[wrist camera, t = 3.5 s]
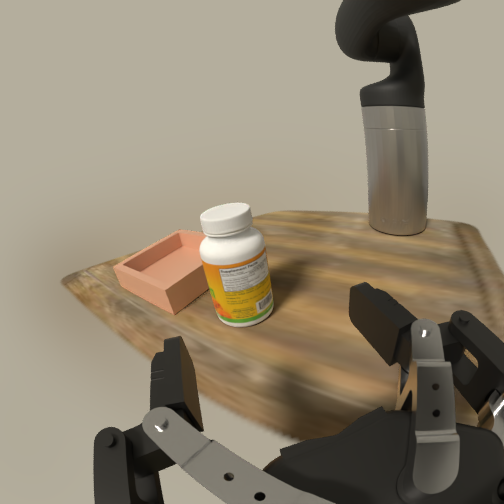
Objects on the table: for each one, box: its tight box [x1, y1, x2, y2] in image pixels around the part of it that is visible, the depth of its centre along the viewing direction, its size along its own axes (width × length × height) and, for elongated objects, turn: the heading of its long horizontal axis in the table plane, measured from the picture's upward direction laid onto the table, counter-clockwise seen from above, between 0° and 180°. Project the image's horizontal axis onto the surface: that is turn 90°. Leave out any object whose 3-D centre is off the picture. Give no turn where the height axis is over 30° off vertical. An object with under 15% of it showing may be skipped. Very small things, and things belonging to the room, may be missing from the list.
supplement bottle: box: [199, 203, 274, 327], centre depth 23 cm, size 5×5×10 cm
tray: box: [113, 229, 209, 315], centre depth 33 cm, size 12×12×3 cm
